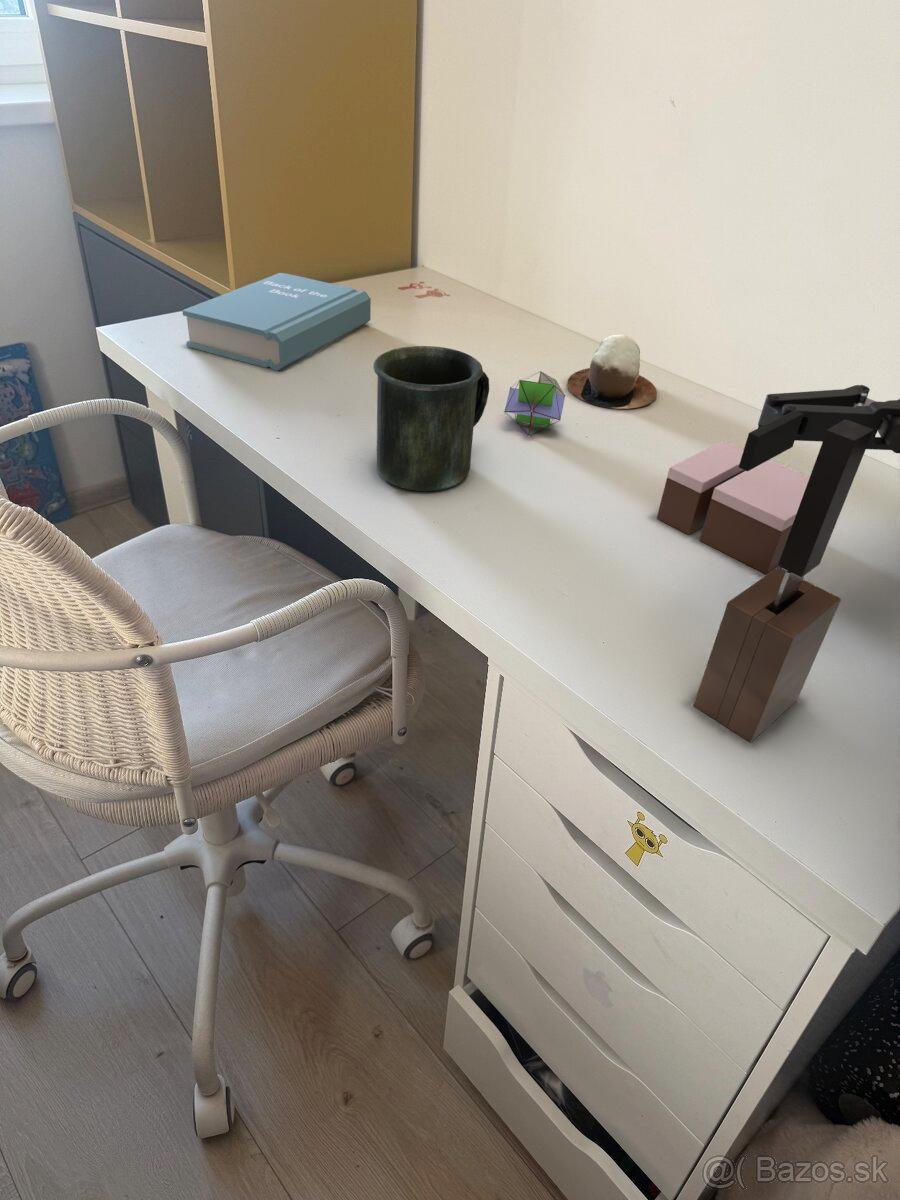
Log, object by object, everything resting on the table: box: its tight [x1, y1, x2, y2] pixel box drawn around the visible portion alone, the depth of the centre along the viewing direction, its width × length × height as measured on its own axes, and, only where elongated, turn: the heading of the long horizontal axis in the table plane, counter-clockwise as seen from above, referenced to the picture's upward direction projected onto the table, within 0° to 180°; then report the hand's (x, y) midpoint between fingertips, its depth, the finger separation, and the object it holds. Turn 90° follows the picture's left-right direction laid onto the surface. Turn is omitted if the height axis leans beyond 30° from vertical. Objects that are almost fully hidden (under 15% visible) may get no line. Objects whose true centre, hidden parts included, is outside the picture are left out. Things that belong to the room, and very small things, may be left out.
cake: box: [699, 459, 810, 575], centre depth 82 cm, size 8×10×6 cm
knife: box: [771, 420, 873, 615], centre depth 57 cm, size 2×3×23 cm, turn 133°
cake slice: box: [656, 440, 745, 536], centre depth 86 cm, size 4×10×6 cm, turn 133°
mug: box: [372, 345, 490, 492], centre depth 88 cm, size 11×15×12 cm
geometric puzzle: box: [503, 370, 567, 437], centre depth 99 cm, size 7×7×8 cm
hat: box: [566, 334, 658, 410], centre depth 111 cm, size 12×10×10 cm
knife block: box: [693, 566, 842, 743], centre depth 61 cm, size 5×7×10 cm
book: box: [181, 272, 372, 372], centre depth 119 cm, size 23×16×5 cm
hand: (838, 491), depth 55 cm, fingers open, 13 cm apart
